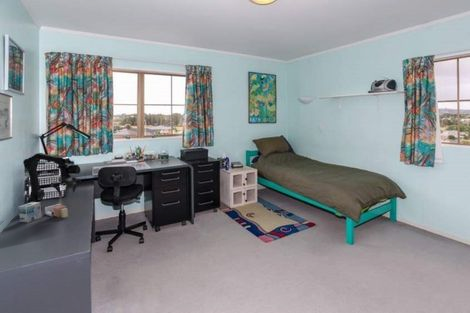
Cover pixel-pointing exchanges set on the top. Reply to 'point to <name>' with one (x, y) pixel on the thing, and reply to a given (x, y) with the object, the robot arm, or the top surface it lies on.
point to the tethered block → (61, 211)
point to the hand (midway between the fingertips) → (67, 193)
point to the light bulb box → (30, 212)
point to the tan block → (50, 209)
